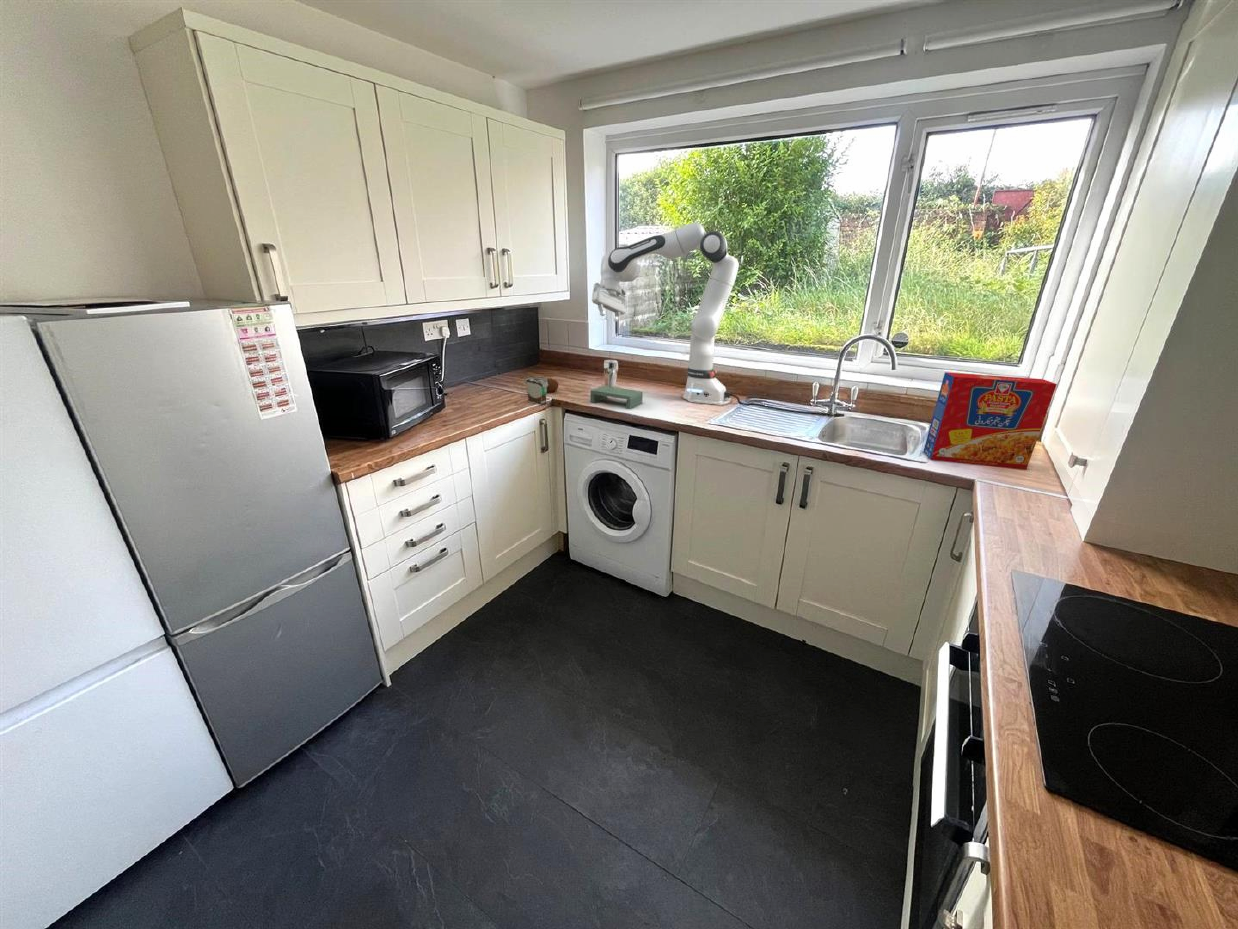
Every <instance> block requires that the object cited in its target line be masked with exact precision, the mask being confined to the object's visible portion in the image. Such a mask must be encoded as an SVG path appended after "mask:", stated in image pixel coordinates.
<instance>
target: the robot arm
mask: <svg viewBox="0 0 1238 929" xmlns="http://www.w3.org/2000/svg"><path fill="white" fill-rule="evenodd" d="M728 248H729V246H728V241H727V238H726V237H725V236H724V235H723V234H722V233H721V232H720V231H716V230H711V231H707V232H706V230H705V228H704V226H703V225H702V224H701V223H700V222H698V221H693V222H689V223H688V224H684V225H681V226H680V227H677V228H675V229H673V230H671V231H669V232H666V233H663V234H658V235H657V234H656V235H652V236H650V237H647V238H645V239H642V240H639V241H637V242H635V243H631V244H629V245H626V246H619V247H616V248H613V250H612V251H611V252H608V253H605V254H604V255H603V256H602V258H601V263H600V277H601V278H600V281H599V282H595V283H594V284H593V289H592V294H591V301H592V303H593V304H594V305H597V308H598V309H597V310H598V311H599V316H601V317H603V316H605V314H606V311H605V310H607V311H610V312H612V313H614V315H615V316H614V317H613V322H615V323H617V322H619V318H620V316H622V315H623V316H624V315H626V313H627V308H628V307H627V304H628V302H627V298H626V297H627V295H628V293H627V292H626V291H625V290H624V289H623V288H622V286H621V284H620V282H622V283H629V282H634V281H635V280H636V279H637V278H638V277H639V276H640V272H641V271H640V270H641V269H640V268H641V267H640V266H639V264H638V262H637V261H636V260H638V259H640V258H643V257H645V256H648V255H658V256H661V257H664V258H666V259H668V260H675V259H679V258H681V257H683V256H685V255H687V254H689V253H690V252H693V251H697V250H698V251H700V253H701V254H702V256H703V257H704V259H706V260H707V261H710V262H711V263H712V269H711V272H710V275H709V277H708V280H707V282H706V286H705V288H704V291H703V293H702V295H701V299H700V303H699V306H698V308H697V312H696V314H695V315H694V316H693V318H692V320H691V324H690V341H689V358H688V367H687V370H686V384H685V388H684V392H683V394H682V398H683V399H684V400H687V401H688V402H690V403H698V404H706V405H707V404H708V405H717V406H725V405H728V404H730V402H731V401H732V399H731V397H733V398H735V399H736V400H737V403H738V404H740V405H741V406H742V405H743V406H758V407H763V408H767V409H771V410H776V411H781V412H787V413H794V414H805V415H806V414H807V415H817V416H818V415H820V416H831V415H830V414H828V413H829V412H819V411H817V412H816V411H804V410H794V409H787V408H782V407H776V406H771V405H767V406H765V405H766V404H762V403H756V402H748V403H745V402H742V401H741V399H740V397H739V396H737V395H736V394H733V393H732V390H727V387H726V386H725V385H724V384H723V383H722V382H721V381H719V379H718V378H716V377H717V372H718V371H717V370H715V369H713V367H714V357H715V339H716V338H715V336H716V335H717V333H718V330H719V328H720V324H721V321H722V319H723V315H724V313H725V309H726V306H727V304H728V300H729V298H730V295H731V292H732V291H733V289H734V288H733V287H734V284H735V282H736V279H737V276H738V271H739V261H738V259H737V258H736V257H734V256H732V255H731V254H729V253H728V251H729V250H728ZM604 309H605V310H604ZM833 416H835V417H844V416H845V413H836V414H834V415H833Z"/></svg>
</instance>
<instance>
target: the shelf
mask: <svg viewBox="0 0 1238 929" xmlns="http://www.w3.org/2000/svg"><path fill="white" fill-rule="evenodd" d="M589 395H590V401H589V402H590V403H593V404H595V403H597V402H600V401H602V400H605V399H607V398H608V397H609V398H616V399H622V400H625V402H626V404H625V405H626V406H625V409H626V410H632V409H633V408H635V407H638V406H641V405H642V404H643V395H644V391H641V390H635V389H630V388H623V387H617V386H616V387H611V386H605V385H601V386H599V387H596V388H592V389H590V394H589Z"/></svg>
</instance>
